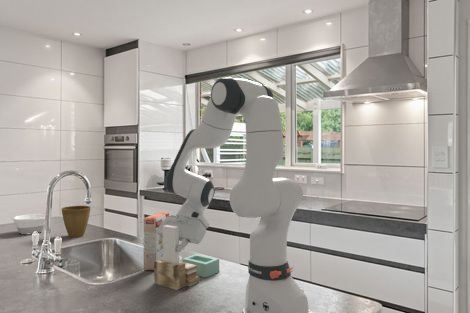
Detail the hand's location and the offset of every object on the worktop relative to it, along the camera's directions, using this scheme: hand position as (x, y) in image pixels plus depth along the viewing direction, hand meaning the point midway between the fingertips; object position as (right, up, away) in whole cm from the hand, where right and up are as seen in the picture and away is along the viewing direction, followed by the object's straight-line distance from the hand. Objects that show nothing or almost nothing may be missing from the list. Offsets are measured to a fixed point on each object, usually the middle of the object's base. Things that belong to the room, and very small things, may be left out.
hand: (169, 249), depth 131 cm
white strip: (+1, -12, +1) cm, 12 cm away
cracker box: (-9, -12, +22) cm, 27 cm away
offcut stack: (+3, -12, +5) cm, 14 cm away
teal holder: (+10, -12, +14) cm, 21 cm away
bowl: (-96, -12, +85) cm, 129 cm away
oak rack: (0, -13, +1) cm, 13 cm away
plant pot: (-65, -12, +75) cm, 100 cm away
